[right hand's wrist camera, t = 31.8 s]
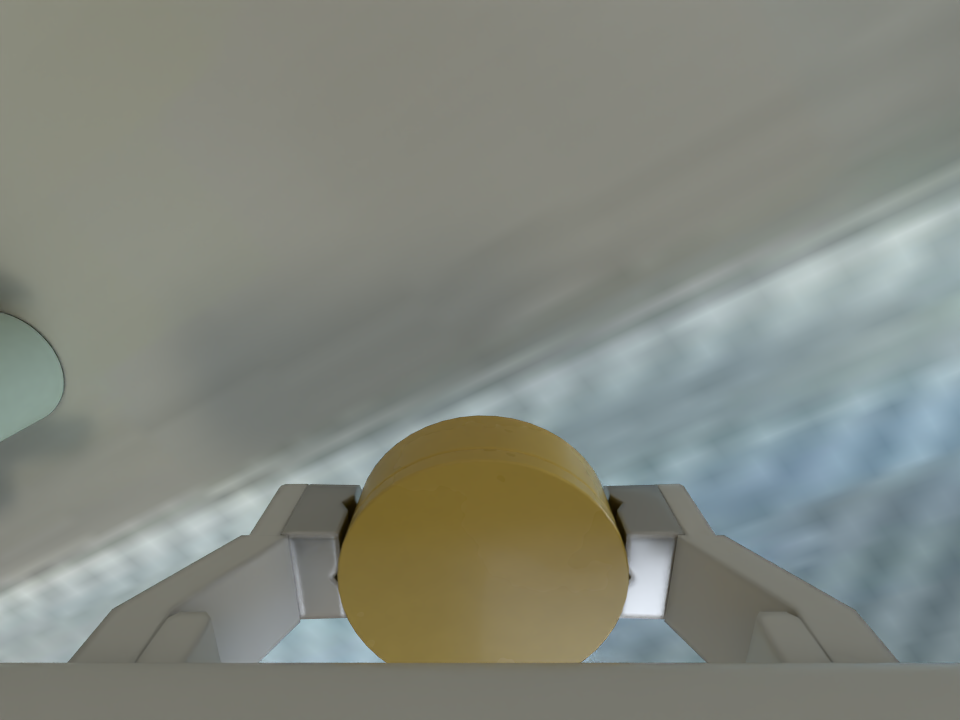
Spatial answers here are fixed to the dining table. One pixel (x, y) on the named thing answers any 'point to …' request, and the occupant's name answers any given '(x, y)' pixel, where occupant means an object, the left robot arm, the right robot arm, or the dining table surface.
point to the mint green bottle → (26, 376)
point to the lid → (483, 549)
